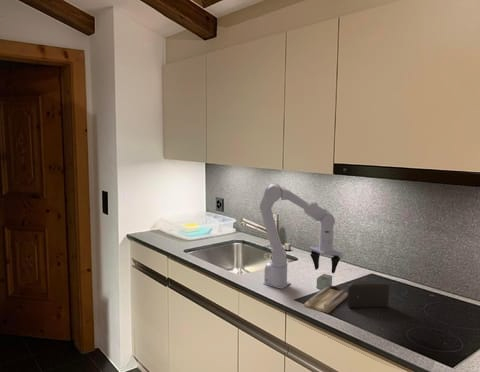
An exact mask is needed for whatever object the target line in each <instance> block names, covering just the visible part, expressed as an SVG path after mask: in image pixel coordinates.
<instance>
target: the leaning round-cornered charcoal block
mask: <svg viewBox="0 0 480 372" xmlns="http://www.w3.org/2000/svg"><path fill="white" fill-rule="evenodd" d="M390 289H391V288H390V285H389V283H387V282H382V281H376V280H375V281H374V280H373V281H372V280H371V281H370V280H364V281H363V280H361V281H355V282H352V283H350V284H349V285H348V287H347V293H348V296H347V301H346V302H347V303H346V305H347V307H348V308H350V309H363V308H364V309H366V308H386V307H388V306H389V304H390V291H391V290H390Z"/></svg>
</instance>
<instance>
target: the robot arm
mask: <svg viewBox="0 0 480 372" xmlns="http://www.w3.org/2000/svg"><path fill="white" fill-rule="evenodd" d="M279 200H280V201H289V202H291V203H293V204H294V205H296V206H298V207H299V208H301V209H303V213H304V214H305V215H307V216H308V217H310V218H312V219H313V220H315V221H317V222H320V224H319V225H320V227H319V238H318V239H319V241H318V247H316V246H311V247H308V249H309V250H308V251H309V253H310V254H309V255H310V257H311V259H312V262H313V266H314V270H315V271H316V270H318V269H319V267H320V255H325V256H331V258H330V259H331V261H330V262H331V274H335V273H336V269H337V267H338V264H339V262H340V261H341V259H343V256H344V255H343V254H344V253H343V252H342V251H341V252H340V251H337V250H334V249H333V247H334V225H335V223H336V220H335V217H334V216H333V214H332V212H330V211H329V210H328V209H326V208H323V207H321V206H320V205H318V202H313V201H311V202H310V201H309V202H307V201H306V200H305V199H303V198H301V197H300V196H298V195H297V194H296V193H294V192H292V190H290V189H288V188H286V187H285V186H280V184H278V183H270V184H269V185H268V186H267V187H266V189H265V190H264V193H263V195H262V198H261V201H260V203H259V204H260V205H259V209H260V213H261V217H262V220H263V223H264V227H265V231H266V235H267V238H268V241H269V245H270V251H271V256H272V258H271V262H267V263H266V265H265V266H264V278H263V279H264V282H262V283H263V285H266V286H269V287H270V286H271V287H272V288H273V287H274V288H277V289H281V290H282V289H284V288H285V287H288V286H289V285H290V284H291V282H290V281H288V263H287V259H288V257H287V251H286V249H285V248H284V247H283V244H282V242H281V239H280V238H281V237H280V234H279V232H278V229H277V223H276V220H275V218H274V214H273V210H272V208H273V206H274V204H275V203H276V202H278V201H279Z"/></svg>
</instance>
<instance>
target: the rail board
mask: <svg viewBox="0 0 480 372" xmlns="http://www.w3.org/2000/svg"><path fill="white" fill-rule="evenodd" d="M346 298H348V292H346V290H345V289H344V288H343V289H341V290H336V289H333V288H331V286H326V287H325V288H324V289H320V290H319V292H317V293H316V294H314V295H313V296H312V297H310V298H308V300H306V301H305V302H304V303H303V306H304V307H305V308H309V307H310V308H309V309H312V308H313V310H317V311H320V312H323V313H327V314H329V313H330V312H332V311H333V310H334V309H335V308H336V307H337V306H338V305H339V304H340V303H342V302H343V301H344V300H345V299H346Z"/></svg>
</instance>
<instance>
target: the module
mask: <svg viewBox="0 0 480 372" xmlns="http://www.w3.org/2000/svg"><path fill="white" fill-rule="evenodd" d="M326 286H330V287H331V286H333V275H330V274H326V273H322V274H321V275H319V276H318V277H317V278H316V287H315V288H316V289H319V290H322V289H324V288H325V287H326Z"/></svg>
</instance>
